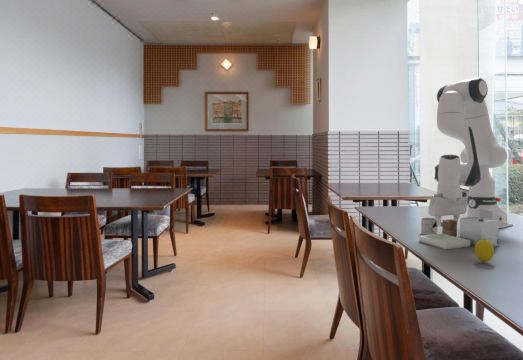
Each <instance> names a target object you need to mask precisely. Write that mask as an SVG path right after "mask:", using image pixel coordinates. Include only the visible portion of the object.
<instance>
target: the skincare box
mask: <svg viewBox="0 0 523 360" xmlns="http://www.w3.org/2000/svg"><path fill="white" fill-rule="evenodd" d="M479 217H480V218H486V219H491V220H497V240H499V232H500V231H499V230H500V228H499V210H493V209H480V210H479Z"/></svg>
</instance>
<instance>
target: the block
mask: <svg viewBox="0 0 523 360" xmlns="http://www.w3.org/2000/svg"><path fill="white" fill-rule="evenodd" d="M442 222H443V224H442V225H443V226H442V227H441V228H442V230H441V231H442V232H441V234H446V235H450V236H455V237H458V235H457V234H458V221H456V220H453V218H452V219H451V218H449V219H442Z"/></svg>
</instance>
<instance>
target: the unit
mask: <svg viewBox="0 0 523 360" xmlns="http://www.w3.org/2000/svg"><path fill="white" fill-rule="evenodd" d="M459 238H463V239H467V240H470V247H472V248H475V246H476V244H477V242H478V241H480V240H483V239H486V240H488V241H490V242H491V243H492V245H493V247H494V248H500V245H499V244H497V243H498V242H497V241H498V239H497V220H491V219H486V218H480V217H466V216H465V217H459Z"/></svg>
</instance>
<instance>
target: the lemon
mask: <svg viewBox="0 0 523 360" xmlns="http://www.w3.org/2000/svg"><path fill="white" fill-rule="evenodd" d="M494 248H495V247H493V245H492V243H491V242H490V241H488V240H486V239H483V240H480V241H478V242H477V244H476V246H475V247H474V254H475V257H476V258H477V260H480V261H481V262H482V263H483V264H485V263H486V262H489V261H490V260H492V258H493V257H494V255H495V249H494Z"/></svg>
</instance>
